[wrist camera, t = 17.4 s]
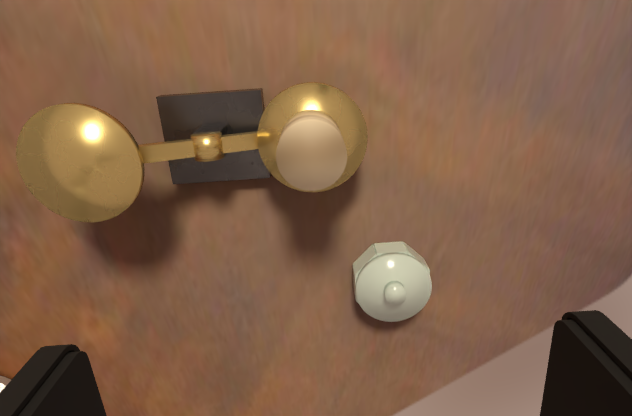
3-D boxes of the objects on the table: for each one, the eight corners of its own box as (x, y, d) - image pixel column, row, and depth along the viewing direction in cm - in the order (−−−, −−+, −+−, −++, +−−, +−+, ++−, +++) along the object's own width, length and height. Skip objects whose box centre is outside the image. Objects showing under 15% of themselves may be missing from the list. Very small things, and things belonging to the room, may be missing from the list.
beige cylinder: (342, 167, 32) (348, 188, 27) (283, 171, 32) (279, 193, 27) (340, 107, 30) (345, 119, 26) (278, 111, 30) (272, 123, 26)
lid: (423, 302, 41) (433, 325, 38) (354, 307, 41) (358, 330, 38) (424, 239, 39) (436, 258, 35) (351, 245, 39) (355, 264, 35)
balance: (362, 173, 37) (374, 203, 30) (88, 191, 37) (36, 226, 30) (359, 75, 34) (372, 82, 27) (62, 95, 34) (-1, 108, 27)
